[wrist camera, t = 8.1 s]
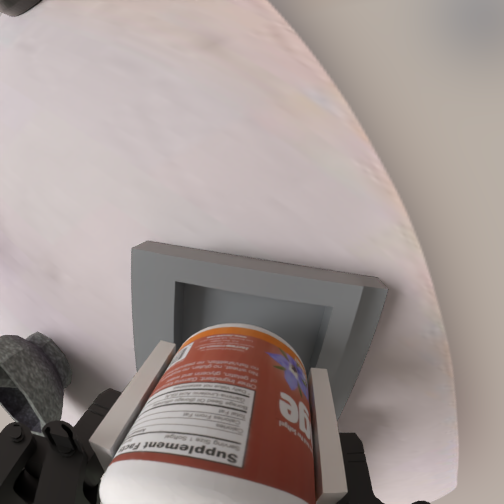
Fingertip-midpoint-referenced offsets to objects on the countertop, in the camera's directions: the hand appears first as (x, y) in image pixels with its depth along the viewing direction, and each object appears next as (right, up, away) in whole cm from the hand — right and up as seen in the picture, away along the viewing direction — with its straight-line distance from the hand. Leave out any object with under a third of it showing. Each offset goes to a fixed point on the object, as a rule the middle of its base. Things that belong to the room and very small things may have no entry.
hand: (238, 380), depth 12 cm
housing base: (-1, -6, +7) cm, 9 cm away
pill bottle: (0, 0, 0) cm, 1 cm away
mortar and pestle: (-19, -4, +8) cm, 22 cm away
